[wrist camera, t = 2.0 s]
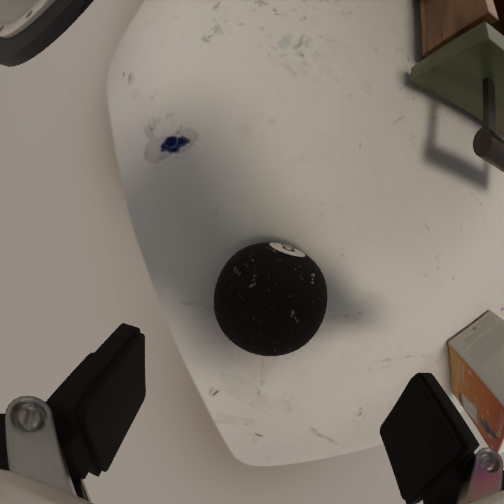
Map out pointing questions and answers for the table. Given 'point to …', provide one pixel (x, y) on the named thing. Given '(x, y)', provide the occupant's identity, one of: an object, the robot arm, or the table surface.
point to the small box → (481, 376)
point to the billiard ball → (270, 299)
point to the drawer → (467, 64)
